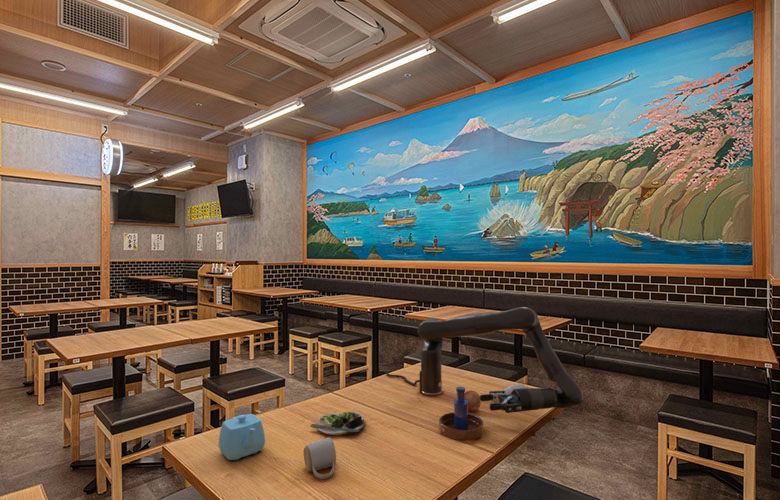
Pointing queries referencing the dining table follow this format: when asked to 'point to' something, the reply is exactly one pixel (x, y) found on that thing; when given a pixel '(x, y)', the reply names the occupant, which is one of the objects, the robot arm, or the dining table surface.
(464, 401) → the soy bottle
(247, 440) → the teapot
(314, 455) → the ceramic mug
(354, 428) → the salad plate
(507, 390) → the seashell
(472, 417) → the bowl
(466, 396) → the fruit
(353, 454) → the dining table surface
